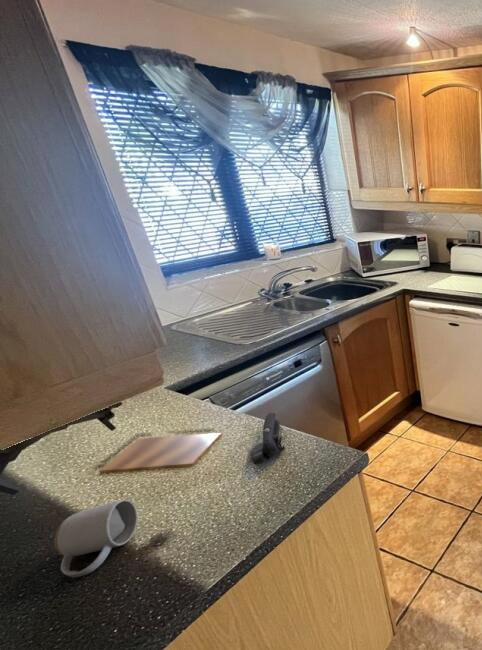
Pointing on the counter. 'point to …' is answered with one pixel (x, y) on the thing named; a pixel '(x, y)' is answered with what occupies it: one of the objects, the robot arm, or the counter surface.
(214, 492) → the counter surface
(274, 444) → the can opener
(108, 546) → the ceramic mug
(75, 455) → the counter surface
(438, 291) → the counter surface
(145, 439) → the oak board
